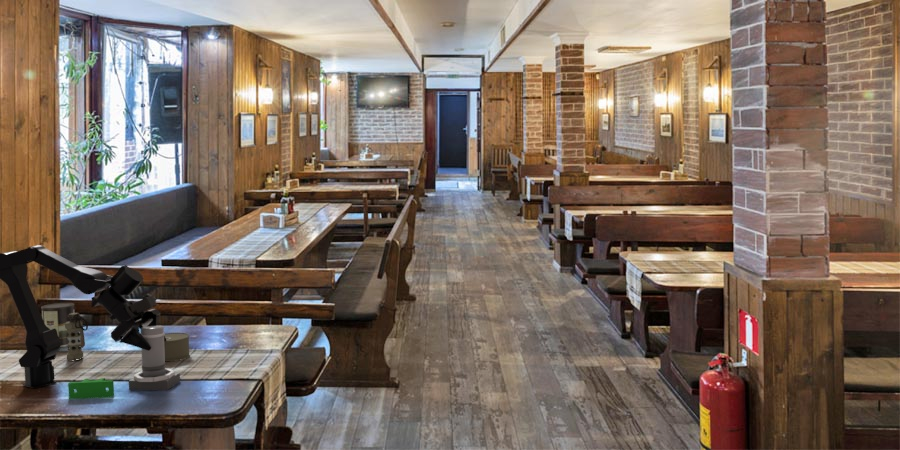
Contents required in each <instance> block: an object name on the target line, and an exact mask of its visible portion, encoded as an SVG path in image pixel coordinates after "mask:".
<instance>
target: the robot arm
mask: <svg viewBox="0 0 900 450" xmlns="http://www.w3.org/2000/svg"><path fill="white" fill-rule="evenodd" d="M33 262H34V263H36V264H38V265H39V266H42V267H43V268H45V269H47V270H49V271H52V272H54V273H55V274H58V275H60V276H62V277H64V278H65V279H67V280H69V281H70V282H71V284H72V286H73V287H74V288H75V289H77V290H79V292H81V293H83V294H85V295H91V294H95V293H98V292H99V293H98V295H95V296H93V297H91V303H90V304H91V305H90V306H91V308H95V307H98V306H100V305H101V307H102V308H103V309H105V310H106V312H107V313H109V315H110V317H109V319H110V320H111V321H115V320H116V321H117V322H118V324H117V325H116V327H115V328H114V329H113V330H112V331H110V339H112V340H113V342H115V343H117V342H119V343H121V344H123V343H124V344H127V345H131V346H134V347H137V348H139V349H141V348H142V349H145V350H148V351H149V350H150V349H151V346H150V345H149V343H148V342H147V341H146V340H145V339H144V337H143V336H142V335H141V334H140V333H141V331H140V330H141V328H143V327H147V326H161V325H160V318H161V314H162V313H161V312H160V311H159V310H158V309H157V308H155V307H157V306H158V304H157V297H155V296H154V295H153V294H151V293H147V294H146V295H142V299H141V300H137V302H135V301H134V300H128V299H126V297H124V296H130V295H131V294H132V293H133V292H134V291H135V290H136V289H137V288H138V286H140V284H142V282H143V280H144V277H143V275H142V274H141V272H139V271H137V270H136V269H134V268H132V267H129V266H128V265H127V264H124V265H121V266H120V267H119V269H117V271H116V273H114V275H108V274H106V273H105V272H103V271H101V270H98V269H94V268H91V267H85V266H81V265H78V264H77V263H74V262H73V261H71V260H68V259H67V258H64V257H62V256H61V255H60V254H57V253H55V252H53V251H51V250H49V249H48V248H46V247H45V246H43V245H41V244H39V245H33V246H29V247H27V248H23V249H21V250H12V251H6V252H0V280H1V281H2V282H3V283H4V284H5V285H7V287H8V288H7V289H8V290H9V292H10V294H11V296H12V299H13V302H14V304H15V307H16V310H17V312H18V315H19V317H20V318H21V322H22V324H23V326H24V329H25V331H26V334H25V342H24V343H25V348H26V352H24V354H23V355H22V356H21V357H20V358H19V359H18V363H19V365H20V367H21V368H23V369H24V382H23V383H22V384H21V385H22V386H24V387H27V388H30V389H37V388H42V387H45V386H49V385H55V384H56V383H57V380H55V367H54V366H55V365H53V361H54V360H55V359H56V356H57V354H58V353H59V351H60V348H61V347H60V341H61V339H60V338H59V337H58V334H57V330H56V329H55V328H54V329H51V330H50V329H49V328H48V327H47V326H46V325H45V323H44V321H43V318H42V313H41V311H40V309H39V307H38V303H37V302H36V299H35V297H34V294H33V292H32V289H31V286H30V284H29V281H28V279H27V277H28V269H29V267H28V264H31V263H33ZM107 287H108V288H107ZM106 288H107V289H106ZM165 341H166V338H165V336H164V342H165Z"/></svg>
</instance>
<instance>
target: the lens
mask: <svg viewBox="0 0 900 450" xmlns="http://www.w3.org/2000/svg"><path fill="white" fill-rule="evenodd" d="M140 334H141V335H142V336H143V337H144V339H145V340H146V341H147V342H148V343H149V345H150V346H151V349H150V350H149V351H148V350H145V349H142V348H140V349H141V371H142V375H143V377H158V376H163V375H165V368H166V362H165V349H164V335H165V334H166V333H165V329H164V326H163V325H160V326H147V327H143V328H141V329H140Z"/></svg>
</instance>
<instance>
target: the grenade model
mask: <svg viewBox="0 0 900 450" xmlns="http://www.w3.org/2000/svg"><path fill="white" fill-rule="evenodd" d="M68 317H70V321H69V322H66V323H65V328H66V329H67V340H68V346H67V353H66V360H68V361H69V360H76V359H80V358H82V357H83V358H84V352H83V351H82V349H84V347H85V345H86V342H85V339H86V338H85V333H84V332H85V331H87V330H88V329H89V325H90V322H89V321H88V320H86V319H85V318H84V317H83V316H81V314H80V313H79V312H74V313H71V314H69V315H68ZM83 321H84V322H83ZM83 323H84V324H85V325H83ZM68 334H69V335H68ZM83 358H82V359H83Z"/></svg>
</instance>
